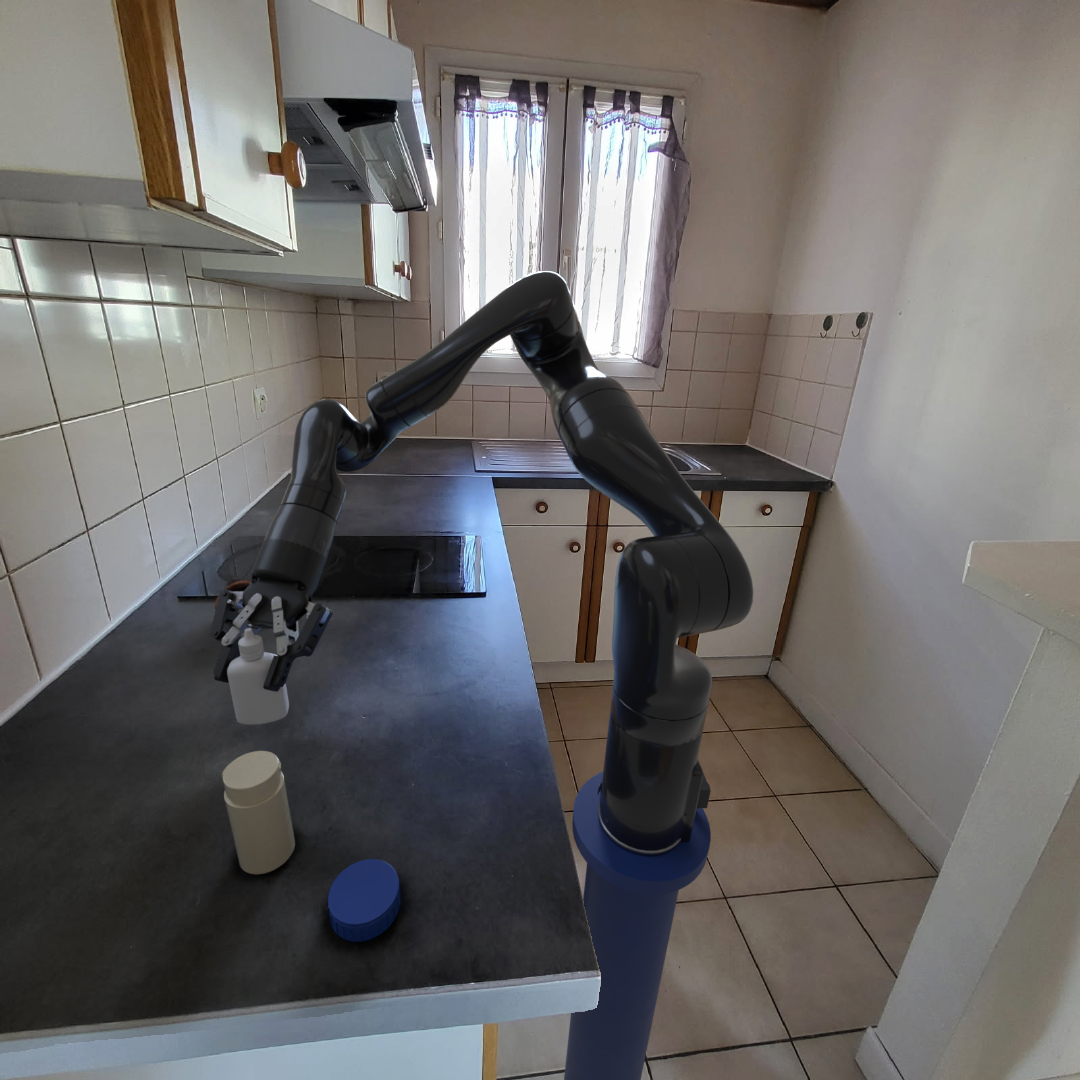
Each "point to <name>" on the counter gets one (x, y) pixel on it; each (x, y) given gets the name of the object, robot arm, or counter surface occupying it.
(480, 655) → the counter surface
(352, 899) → the lid
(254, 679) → the eye dropper bottle
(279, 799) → the jar
